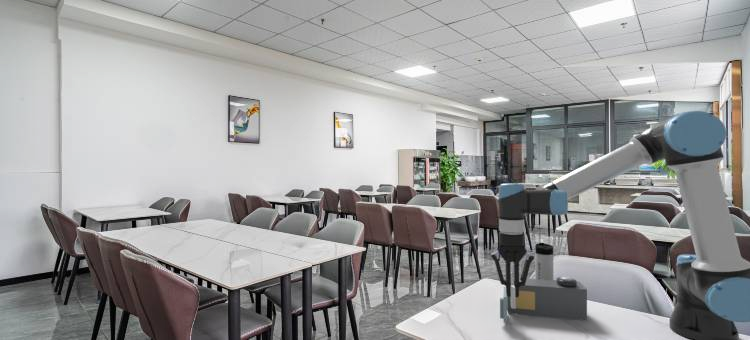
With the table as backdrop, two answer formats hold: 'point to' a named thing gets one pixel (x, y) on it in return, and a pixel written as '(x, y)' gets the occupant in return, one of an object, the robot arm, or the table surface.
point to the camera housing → (551, 299)
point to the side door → (503, 306)
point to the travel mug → (544, 261)
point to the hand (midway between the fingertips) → (512, 306)
